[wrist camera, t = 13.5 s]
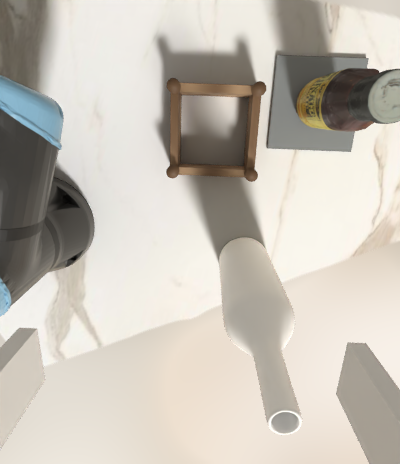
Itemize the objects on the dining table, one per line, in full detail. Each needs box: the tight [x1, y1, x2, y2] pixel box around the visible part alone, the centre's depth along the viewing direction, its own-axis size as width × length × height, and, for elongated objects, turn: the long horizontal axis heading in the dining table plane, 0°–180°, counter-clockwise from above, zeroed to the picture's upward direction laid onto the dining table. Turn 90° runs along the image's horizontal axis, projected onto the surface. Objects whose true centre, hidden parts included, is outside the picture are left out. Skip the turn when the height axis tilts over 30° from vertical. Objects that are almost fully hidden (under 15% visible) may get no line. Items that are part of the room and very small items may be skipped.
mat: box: [267, 55, 369, 152], centre depth 43 cm, size 12×12×1 cm
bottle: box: [219, 237, 302, 435], centre depth 37 cm, size 8×8×30 cm
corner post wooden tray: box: [166, 78, 266, 182], centre depth 42 cm, size 12×12×6 cm
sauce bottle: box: [296, 68, 400, 132], centre depth 34 cm, size 6×6×20 cm
